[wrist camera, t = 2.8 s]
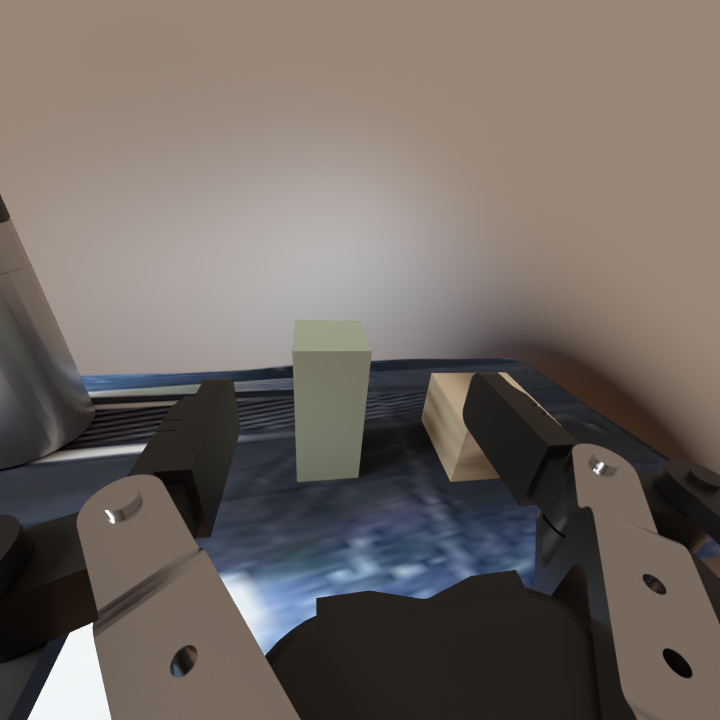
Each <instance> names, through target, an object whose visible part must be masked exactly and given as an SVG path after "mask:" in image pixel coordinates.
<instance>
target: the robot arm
mask: <svg viewBox="0 0 720 720" xmlns="http://www.w3.org/2000/svg"><path fill="white" fill-rule="evenodd" d="M462 414H463V421H464V424H465V426H466V428H467V429H468V431H469V432H470V434H471V435H472V436H473V438H474V439H475V441H476V442H477V444H478V445H479V447H480V448H481V450H482V451H483V453H484V454H485V456H486V457H487V459H488V460H489V462H490V463H491V465H492V466H493V468H494V469H495V471H496V472H497V474H498V475H499V477H500V478H501V480H502V481H503V482H504V484H505V485H506V487H507V488H508V490H509V491H510V493H511V494H512V496H513V497H514V499H515V500H516V502H517V503H518V505H519V506H528V505H537V506H538V507H539V508H540V511H539V513H538V515H537V519H536V552H535V577H534V582H533V586H532V589H529V588H525V586H524V585H523V583H522V581H521V579H520V577H519V575H518V574H517V572H516V570H512V571H505V572H498V573H490V574H483V575H476V576H470V577H468V578H466V579H465V580H463V581H461V582H459V583H457V584H455V585H453V586H451V587H449V588H447V589H446V590H444V591H442V592H440V593H438V594H436V595H434V596H432V597H430V598H427V599H419V598H413V597H406V596H400V595H394V594H388V593H381V592H375V591H363V592H356V593H349V594H342V595H335V596H328V597H321V598H316V614H317V615H316V616H314V617H312V618H310V619H308V620H306V621H304V622H303V623H301V624H300V625H298V626H297V627H295V628H294V629H292V630H291V631H290V632H289V633H287V634H286V635H285V636H284V637H283V638H282V639H280V640H279V641H278V642H277V643H276V644H275V645H274V646H273V647H272V649H271V650H270V651H269V652H268V653H267V654H266V655H265V656H264V654H263V652H262V650H261V649H260V647H259V645H258V643H257V642H256V640H255V638H254V636H253V635H252V633H251V631H250V629H249V627H248V626H247V624H246V622H245V620H244V619H243V617H242V615H241V613H240V611H239V610H238V608H237V606H236V604H235V603H234V601H233V599H232V597H231V595H230V594H229V592H228V590H227V588H226V587H225V585H224V583H223V581H222V580H221V578H220V576H219V574H218V572H217V571H216V569H215V567H214V565H213V564H212V562H211V560H210V558H209V557H208V555H207V553H206V552H205V551H204V549H203V548H200V549H199V547H198V546H197V544H196V542H195V539H197V538H206V537H211V534H212V530H213V526H214V523H215V519H216V516H217V512H218V508H219V505H220V501H221V498H222V494H223V491H224V487H225V483H226V480H227V476H228V473H229V469H230V465H231V462H232V458H233V455H234V451H235V447H236V444H237V440H238V436H239V414H238V408H237V401H236V395H235V389H234V383H233V380H232V379H231V378H225V379H204V380H203V382H202V384H201V386H200V388H199V389H198V391H197V393H196V395H195V396H185V397H183V398H182V399H181V400H179V401H178V402H177V403H176V404H174V405H173V406H172V407H171V408H170V409H169V411H168V412H167V414H166V416H165V417H164V419H163V423H160V425H159V427H158V428H157V430H156V434H154V435H153V436H152V438H151V439H150V441H149V443H148V444H147V446H146V447H145V449H144V450H143V452H142V454H141V455H140V457H139V458H138V460H137V462H136V463H135V465H134V466H133V468H132V470H131V471H130V473H129V474H128V476H127V477H126V478H122V479H120V480H117V481H115V482H113V483H111V484H109V485H107V486H106V487H104V488H102V489H101V490H99V491H98V492H97V493H95V494H94V495H93V496H92V497H91V498H90V499H89V500H88V501H87V502H86V503H85V504H84V506H83V507H82V509H81V510H80V511H79V512H76V513H74V514H71V515H67V516H64V517H61V518H58V519H55V520H51V521H48V522H45V523H42V524H39V525H35V526H32V527H29V528H26V529H24V528H23V527H22V525H21V524H20V523H19V521H18V520H17V519H16V518H15V517H13V516H10V515H2V514H1V515H0V720H27V719H28V717H29V715H30V713H31V711H32V709H33V707H34V705H35V703H36V701H37V699H38V696H39V694H40V692H41V690H42V688H43V686H44V684H45V682H46V680H47V678H48V676H49V674H50V672H51V670H52V668H53V666H54V663H55V661H56V659H57V657H58V655H59V653H60V651H61V649H62V647H63V645H64V643H65V641H66V639H67V637H68V635H69V633H70V632H72V631H74V630H77V629H79V628H81V627H83V626H86V625H88V624H90V623H92V622H93V636H94V642H95V647H96V651H97V656H98V660H99V665H100V669H101V674H102V678H103V683H104V687H105V692H106V696H107V701H108V705H109V710H110V714H111V719H112V720H720V579H719V578H718V577H717V576H716V575H715V574H714V573H713V572H712V571H711V570H710V569H709V568H708V567H707V566H706V565H705V564H704V563H703V562H702V561H701V560H700V559H699V558H698V557H697V556H696V555H695V554H694V553H695V552H696V551H697V550H698V549H699V548H700V547H701V546H702V545H703V544H704V543H705V542H706V541H707V540H708V539H709V538H710V537H712V538H713V539H714V540H715V541H716V542H717V543H718V544H719V545H720V475H718V474H717V473H715V472H713V471H711V470H709V469H707V468H705V467H703V466H700V465H697V464H695V463H692V462H688V461H684V460H675V459H674V460H669V461H668V462H666V464H665V465H664V466H663V468H662V469H661V470H660V472H659V473H654V472H648V471H643V470H637V469H634V468H633V467H632V466H631V465H630V464H629V463H628V462H627V461H626V460H624V459H623V458H622V457H620V456H619V455H617V454H615V453H614V452H612V451H610V450H607V449H605V448H603V447H600V446H596V445H592V444H580V443H579V442H578V441H577V440H576V439H575V438H574V437H573V436H572V435H570V434H569V433H568V432H567V431H566V430H565V429H564V428H563V427H562V426H561V425H560V424H559V423H557V422H556V421H555V420H554V419H553V418H552V417H551V416H550V415H547V412H546V411H544V410H543V409H542V408H541V407H540V406H538V404H537V403H536V402H535V401H534V400H533V399H532V398H530V397H529V396H528V395H527V394H526V393H524V392H522V391H520V390H519V389H517V388H515V387H513V386H512V385H511V384H510V383H509V382H508V381H507V380H506V379H505V378H504V377H503V376H502V375H500V374H499V373H496V372H495V373H475V374H474V375H473V376H472V378H471V381H470V385H469V389H468V392H467V396H466V399H465V403H464V406H463V413H462ZM94 417H95V408H94V406H93V403H92V401H91V399H90V397H89V394H88V392H87V390H86V387H85V385H84V383H83V381H82V378H81V376H80V373H79V371H78V369H77V367H76V364H75V362H74V360H73V358H72V355H71V353H70V351H69V349H68V346H67V344H66V342H65V339H64V337H63V335H62V333H61V330H60V328H59V326H58V324H57V321H56V319H55V317H54V315H53V312H52V310H51V308H50V306H49V303H48V301H47V299H46V297H45V295H44V292H43V290H42V288H41V285H40V283H39V281H38V278H37V276H36V274H35V272H34V269H33V267H32V265H31V263H30V261H29V259H28V256H27V254H26V252H25V250H24V247H23V245H22V243H21V240H20V238H19V236H18V234H17V232H16V229H15V227H14V225H13V222H12V220H11V219H10V215H9V213H8V211H7V208H6V206H5V204H4V202H3V200H2V197H1V195H0V469H4V468H9V467H12V466H16V465H20V464H23V463H26V462H29V461H32V460H35V459H37V458H40V457H42V456H45V455H47V454H49V453H51V452H53V451H56V450H57V449H59V448H61V447H63V446H64V445H66V444H68V443H70V442H71V441H73V440H74V439H75V438H77V437H78V436H80V435H81V434H82V433H83V432H84V431H85V430H86V429H87V428H88V427H89V426H90V424H91V423H92V422H93V420H94Z"/></svg>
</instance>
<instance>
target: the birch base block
mask: <svg viewBox="0 0 720 720" xmlns="http://www.w3.org/2000/svg"><path fill="white" fill-rule="evenodd" d="M474 374H475V373H432V374H431V378H430V383H429V387H428V392H427V396H426V401H425V405H424V410H423V414H422V419H421V420H422V422H423V424H424V426H425V429H426V431H427V433H428V435H429V437H430V439H431V441H432V443H433V446H434V448H435V450H436V452H437V454H438V456H439V458H440V460H441V463H442V465H443V467H444V469H445V471H446V473H447V475H448V478H449V480H450V482H455V481H469V480H484V479H498V478H500V477H499V475H498V474H497V472H496V471H495V469H494V468H493V466H492V465H491V463H490V462H489V460H488V459H487V457H486V456H485V454H484V453H483V451H482V450H481V448H480V447H479V445H478V444H477V442H476V441H475V439H474V438H473V436H472V435H471V434H470V432H469V431H468V429H467V428H466V426H465V424H464V421H463V414H462V413H463V406H464V403H465V399H466V396H467V392H468V389H469V385H470V381H471V378H472V376H473V375H474ZM499 374H500V375H502V376H503V377H504V378H505V379H506V380H507V381H508V382H509V383H510V384H511V385H512V386H513V387H515V388H517V389H519V390H520V391H522V392H524V393H526V394H527V395H528V396H529V397H530V398H532V397H531V396H530V395H529V394H528V393H527V392H526V391H525V390H524V389H523V388H522V387H520V386H519V385H518V384H517V383H516V382H515V381H514V380H513V379H512V378H511V377H510V376H509V375H508V374H507V373H499ZM532 399H533V398H532ZM533 400H534V399H533ZM534 401H535V400H534ZM535 402H536V401H535ZM536 403H537V402H536ZM537 404H538V403H537ZM538 406H540V405H539V404H538ZM540 407H541V406H540ZM541 408H542V407H541ZM542 409H543V408H542ZM543 410H544V409H543ZM544 411H545V410H544ZM547 415H550V414H549V413H547ZM550 416H551V415H550ZM551 417H552V416H551ZM552 418H553V417H552ZM553 419H554V418H553ZM554 420H555V419H554ZM555 421H556V420H555ZM556 422H557V421H556ZM557 423H558V422H557Z"/></svg>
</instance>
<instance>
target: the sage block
mask: <svg viewBox="0 0 720 720" xmlns="http://www.w3.org/2000/svg"><path fill="white" fill-rule="evenodd" d="M292 352H293V379H294V406H295V433H296V460H297V482H306V481H319V480H333V479H346V478H358V475H359V465H360V456H361V446H362V437H363V428H364V418H365V409H366V400H367V390H368V381H369V371H370V362H371V353H372V351H371V348H370V345H369V343H368V341H367V338H366V335H365V333H364V330H363V328H362V325H361V322H360V321H304V320H302V321H301V320H295V327H294V341H293V351H292Z"/></svg>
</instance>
